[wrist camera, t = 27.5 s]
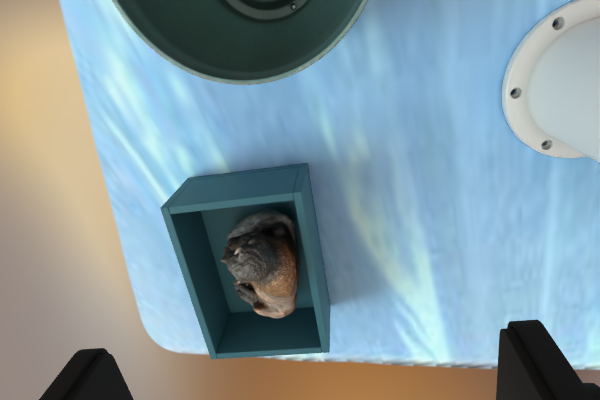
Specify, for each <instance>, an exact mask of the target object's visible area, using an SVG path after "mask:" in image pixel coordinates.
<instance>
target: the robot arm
mask: <svg viewBox="0 0 600 400" xmlns="http://www.w3.org/2000/svg"><path fill="white" fill-rule="evenodd" d="M554 20H555V21H556V24H555V26H554V27H553V25H552V24H553V21H554ZM513 89H514V90H515V91H514V93H513V94H510V93H511V91H512V90H513ZM501 97H502V106H503V112H504V115H505V118H506V121H507V123H508V125H509V126H510V128H511V130H512V131H513V133H514V134H515V135H516V136H517V137H518V138H519V139H520V140H521V141H522V142H523V143H525V144H526V145H528V146H529V147H531V148H532V149H534V150H536V151H538V152H540V153H542V154H545V155H549V156H553V157H557V158H579V157H587V156H588V157H590V158H592V159H594V160H596V161H597V162H599V163H600V0H575V1H572V2H569V3H567V4H565V5H563V6H562V7H560V8H558V9H556V10H554V11H553V12H551V13H550V14H549V15H547V16H546V17H545V18H543V19H542V20H541V21H540V22H538V23H537V24H536V25H535V26H534V27H533V28H532V29H531V30H530V31H529V32H528V34H527V35H526V36H525V37H524V38H523V40H522V41H521V42H520V44H519V45H518V47H517V48H516V50H515V51H514V53H513V55H512V57H511V59H510V61H509V64H508V66H507V69H506V72H505V76H504V79H503V85H502V96H501ZM544 141H545V143H544V144H542V143H543V142H544ZM497 375H498V376H497V394H496V400H600V387H599V386H597V385H596V384H594V383H582V381H581V380H580V379H579V377H578V376H577V374H576V373H575V371H574V370H573V368H572V367H571V365H570V364H569V362H568V361H567V359H566V358H565V356H564V355H563V353H562V352H561V350H560V349H559V348H558V346H557V345H556V343H555V342H554V340H553V339H552V337H551V336H550V334H549V333H548V331H547V330H546V328H545V327H544V325H543V324H542V323H541V322H540V321H539V320H526V321H511V322H509V323H508V328H507V329H501V330H500V338H499V356H498V374H497ZM39 400H133V398H132V396H131V393H130V391H129V389H128V387H127V385H126V383H125V381H124V378H123V376H122V374H121V372H120V370H119V368H118V366H117V363H116V361H115V359H114V357H113V356H112V355H111V354H109V353H108V352H107V350H105V349H104V348H98V349H83V350H79V351H78V352H77V353H75V354H74V356H73V357H72V358H71V359H70V361H69V362H68V363H67V364H66V366H65V367H64V368H63V370H62V371H61V372H60V373H59V375H58V376H57V377H56V379H55V380H54V381H53V382H52V384H51V385H50V386H49V388H48V389H47V390H46V392H45V393H44V394H43V395H42V397H41V398H40V399H39Z"/></svg>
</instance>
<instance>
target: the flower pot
mask: <svg viewBox="0 0 600 400" xmlns="http://www.w3.org/2000/svg"><path fill="white" fill-rule="evenodd" d="M112 1H113V3H114V5H115V6H116V8H117V9H118V11H119V12H120V14H121V15H122V17H123V18H124V19H125V21H126V22H127V23H128V24H129V26H130V27H131V28H132V29H133V30H134V31H135V32H136V34H137V35H138V36H139V37H140V38H141V39H142V40H143V41H144V42H145V43H146V44H147V45H149V46H150V47H151V48H152V49H153V50H154V51H155V52H157V53H158V54H159V55H160V56H162V57H163V58H164V59H166V60H167V61H169V62H170V63H172V64H174V65H175V66H177V67H179V68H181V69H183V70H185V71H187V72H189V73H191V74H193V75H196V76H199V77H201V78H204V79H207V80H211V81H216V82H220V83H227V84H240V85H251V84H261V83H267V82H271V81H275V80H278V79H282V78H285V77H287V76H290V75H293V74H295V73H297V72H299V71H301V70H303V69H305V68H307V67H308V66H310V65H312V64H313V63H315V62H316V61H318V60H319V59H321V58H322V57H323V56H324V55H325V54H327V53H328V52H329V51H330V50H331V49H332V48H333V47H335V46H336V44H337V43H338V42H339V41H340V40H341V39H342V38H343V37H344V36H345V34H346V33H347V32H348V31H349V30H350V28H351V27H352V26H353V24H354V23H355V21H356V20H357V18H358V17H359V15H360V13H361V12H362V10H363V8H364V6H365V4H366V3H367V1H368V0H112ZM292 4H295V5H296V8H295V9H292V7H291V6H292Z"/></svg>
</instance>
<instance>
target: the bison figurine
mask: <svg viewBox="0 0 600 400" xmlns="http://www.w3.org/2000/svg"><path fill="white" fill-rule="evenodd" d="M227 240H228V242H227V247H225V248H224V253H223V254H224V257H223V258H222V259H221V262H223V263H225V264H227V268H228V270H229V271H230V272H231V274H232V275H233V276H234V277H235V278H236V281H235V282H234V287H235V290H236V294H237V296H239V298H240V299H242V300H244V301H246V302H247V303H249V304H251V305H252V306H253V310H254V311H255V312H256V313H258V314H260V315H262V316H268V317H271V318H282V317H285V316H286V315H289V314H290V313H292V312H293V311H294V309H295V307H296V301H297V289H298V284H299V274H300V263H301V261H300V256H299V251H298V247H297V240H296V230H295V225H294V223H293V221H292V220H291V219H290V218H289V217H288V216H287V215H285V214H283V213H280V212H278V211H276V210H273V209H264V210H261V211H258V212H256V213H254V214H252V215H249V216H248V217H246V218H244V219H243V220H241V221H240V222H239V223H238V224H237V225H236V226H235V227H234V228H233V229H232V230H231V231H230V232H229V234H228V235H227Z"/></svg>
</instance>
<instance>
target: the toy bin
mask: <svg viewBox="0 0 600 400" xmlns="http://www.w3.org/2000/svg"><path fill="white" fill-rule="evenodd" d="M264 209H273V210H276V211H278V212H280V213H283V214H285V215H287V216H288V217H289V218H290V219H291V220H292V221H293V223H294V225H295V230H296V240H297V247H298V251H299V256H300V261H301V263H300V274H299V284H298V289H297V301H296V307H295V309H294V311H293V312H292V313H290V314H289V315H286V316H285V317H282V318H271V317H268V316H262V315H260V314H258V313H256V312H255V311H254V310H253V306H252V305H251V304H249V303H247V302H246V301H244V300H242V299H240V298H239V296H237V294H236V290H235V287H234V282H235V281H236V278H235V277H234V276H233V275H232V274H231V272H230V271H229V270H228V268H227V264H225V263H223V262H221V259H222V258H223V257H224V254H223V253H224V248H225V247H227V242H228V240H227V235H228V234H229V232H230V231H231V230H232V229H233V228H234V227H235V226H236V225H237V224H238V223H239V222H240V221H241V220H243V219H244V218H246V217H248V216H249V215H252V214H254V213H256V212H258V211H261V210H264ZM161 211H162V214H163V217H164V220H165V223H166V226H167V229H168V232H169V235H170V238H171V241H172V244H173V247H174V250H175V253H176V256H177V259H178V262H179V265H180V268H181V271H182V274H183V277H184V280H185V283H186V286H187V289H188V292H189V295H190V298H191V301H192V304H193V307H194V310H195V313H196V316H197V319H198V322H199V324H200V327H201V330H202V333H203V336H204V339H205V342H206V345H207V348H208V351H209V354H210V357H211V359H224V358H241V357H258V356H275V355H292V354H309V353H322V352H323V353H326V352H329V347H330V301H329V295H328V289H327V283H326V276H325V270H324V264H323V258H322V252H321V245H320V239H319V233H318V227H317V221H316V215H315V208H314V202H313V196H312V190H311V184H310V178H309V171H308V165H307V163H304V164H297V165H289V166H281V167H273V168H265V169H257V170H249V171H241V172H234V173H226V174H218V175H210V176H202V177H194V178H188V179H187V180H186V181H185V182H184V183H183V184H182V185H181V186H180V188H179V189H178V190H177V191H176V192H175V193H174V194H173V195H172V196H171V197H170V198H169V199H168V201H167V202H166V203H165V204H164V205H163V206H162V207H161Z"/></svg>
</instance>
